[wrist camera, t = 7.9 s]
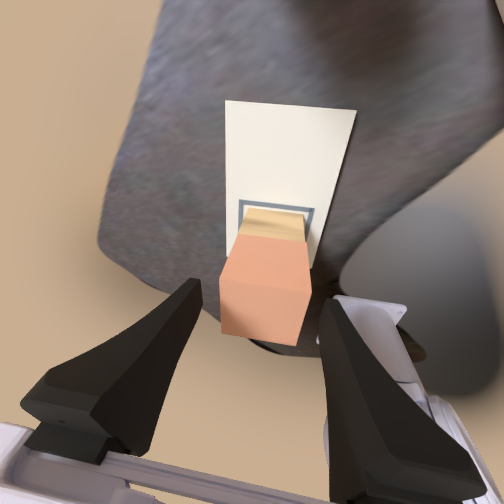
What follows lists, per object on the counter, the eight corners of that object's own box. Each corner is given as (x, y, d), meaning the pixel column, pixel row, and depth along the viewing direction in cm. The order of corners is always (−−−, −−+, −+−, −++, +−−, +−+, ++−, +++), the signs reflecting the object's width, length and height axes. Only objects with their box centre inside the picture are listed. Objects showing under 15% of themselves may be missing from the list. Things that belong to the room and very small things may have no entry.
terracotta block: (294, 291, 18) (295, 346, 14) (236, 283, 19) (221, 333, 15) (306, 242, 15) (311, 292, 11) (237, 233, 16) (219, 278, 12)
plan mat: (311, 265, 23) (311, 269, 23) (227, 253, 24) (226, 256, 24) (354, 110, 15) (357, 110, 15) (227, 100, 16) (225, 100, 15)
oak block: (293, 258, 22) (293, 292, 18) (245, 251, 23) (235, 283, 19) (302, 214, 20) (305, 243, 15) (248, 207, 20) (237, 234, 16)
